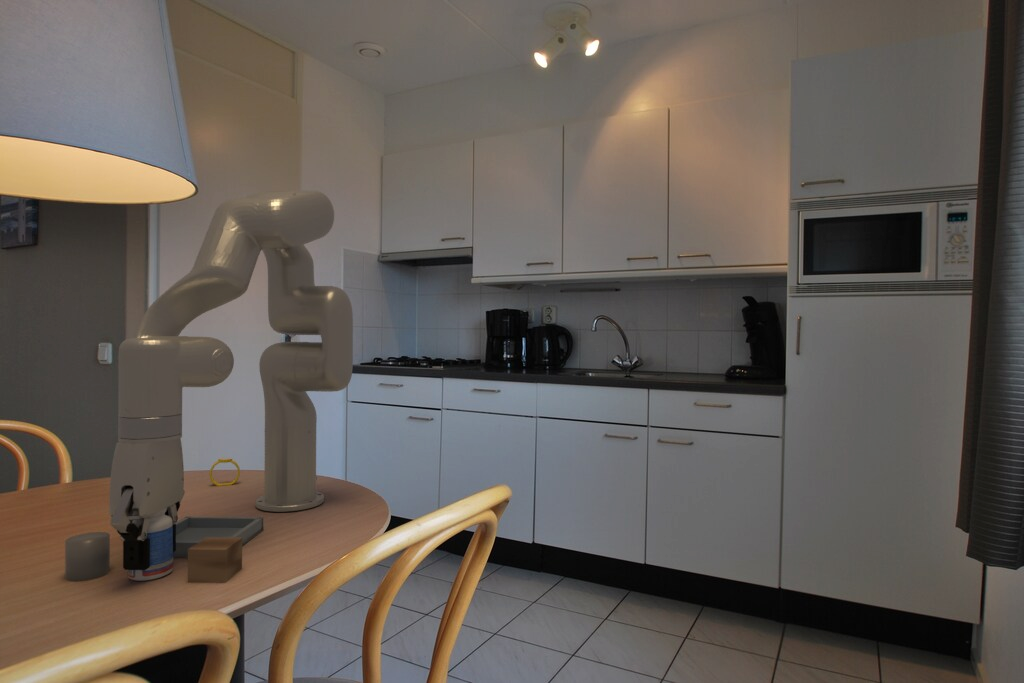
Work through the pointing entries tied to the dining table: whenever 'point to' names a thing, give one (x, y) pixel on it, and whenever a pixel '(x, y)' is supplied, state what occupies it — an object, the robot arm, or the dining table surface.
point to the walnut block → (214, 560)
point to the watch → (224, 460)
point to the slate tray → (214, 530)
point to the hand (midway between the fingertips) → (150, 559)
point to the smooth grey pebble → (87, 556)
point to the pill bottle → (157, 547)
